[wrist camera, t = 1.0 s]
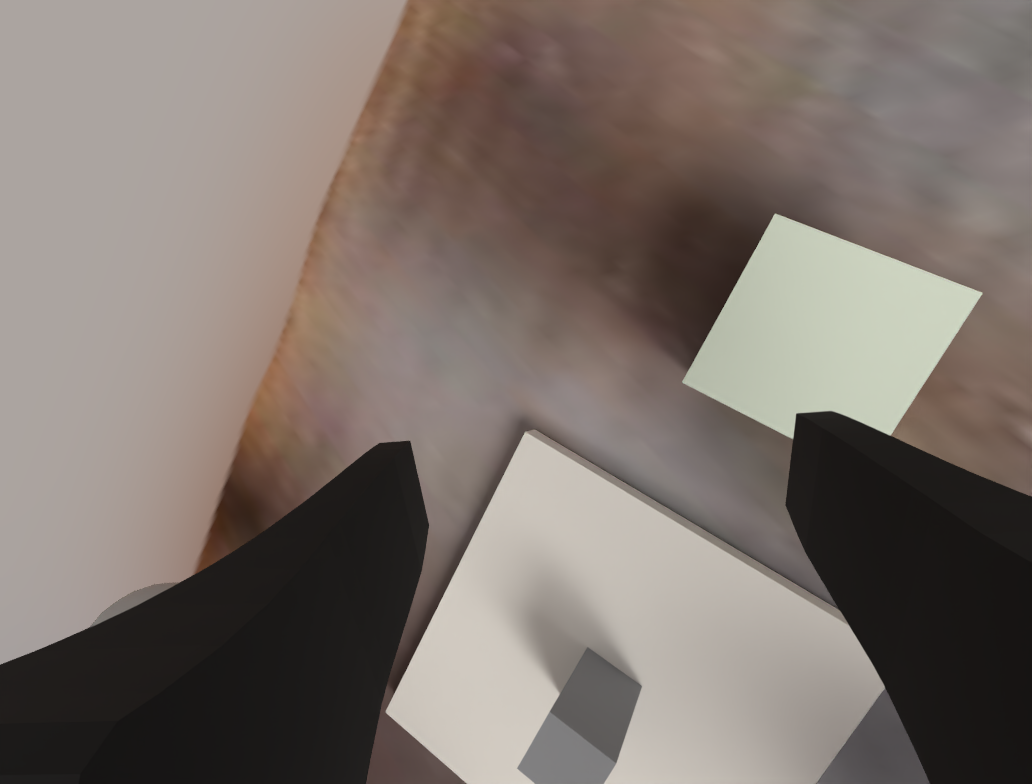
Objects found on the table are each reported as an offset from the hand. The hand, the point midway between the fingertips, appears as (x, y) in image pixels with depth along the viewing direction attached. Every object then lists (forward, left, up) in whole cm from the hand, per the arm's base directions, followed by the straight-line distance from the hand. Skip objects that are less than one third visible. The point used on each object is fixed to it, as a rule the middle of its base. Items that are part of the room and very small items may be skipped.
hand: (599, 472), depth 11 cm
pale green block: (-3, -5, -14) cm, 15 cm away
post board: (-3, +11, -14) cm, 18 cm away
